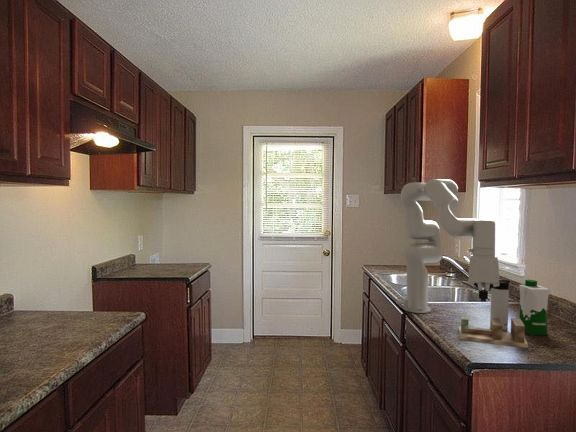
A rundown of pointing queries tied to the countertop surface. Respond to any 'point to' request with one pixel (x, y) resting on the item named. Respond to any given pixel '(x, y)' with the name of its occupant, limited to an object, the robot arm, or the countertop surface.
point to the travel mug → (500, 303)
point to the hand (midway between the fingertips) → (483, 300)
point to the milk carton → (534, 307)
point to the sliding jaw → (494, 328)
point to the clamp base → (507, 338)
